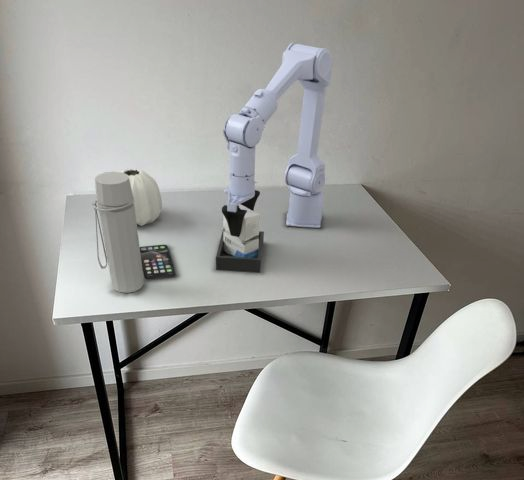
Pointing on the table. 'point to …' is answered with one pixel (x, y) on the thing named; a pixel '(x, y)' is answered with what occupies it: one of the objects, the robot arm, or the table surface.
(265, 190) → the table surface
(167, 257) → the smartphone
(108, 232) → the water bottle
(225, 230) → the ink box
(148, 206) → the vase
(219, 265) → the tray
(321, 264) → the table surface
